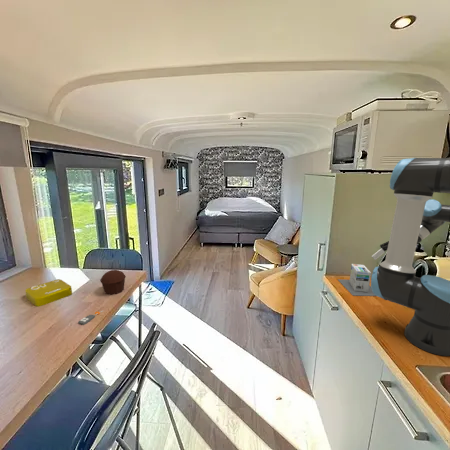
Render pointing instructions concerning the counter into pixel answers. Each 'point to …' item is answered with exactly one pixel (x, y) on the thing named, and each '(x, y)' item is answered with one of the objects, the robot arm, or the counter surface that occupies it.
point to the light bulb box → (360, 277)
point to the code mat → (355, 293)
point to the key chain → (87, 319)
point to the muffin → (113, 282)
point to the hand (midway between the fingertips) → (380, 262)
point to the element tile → (48, 292)
